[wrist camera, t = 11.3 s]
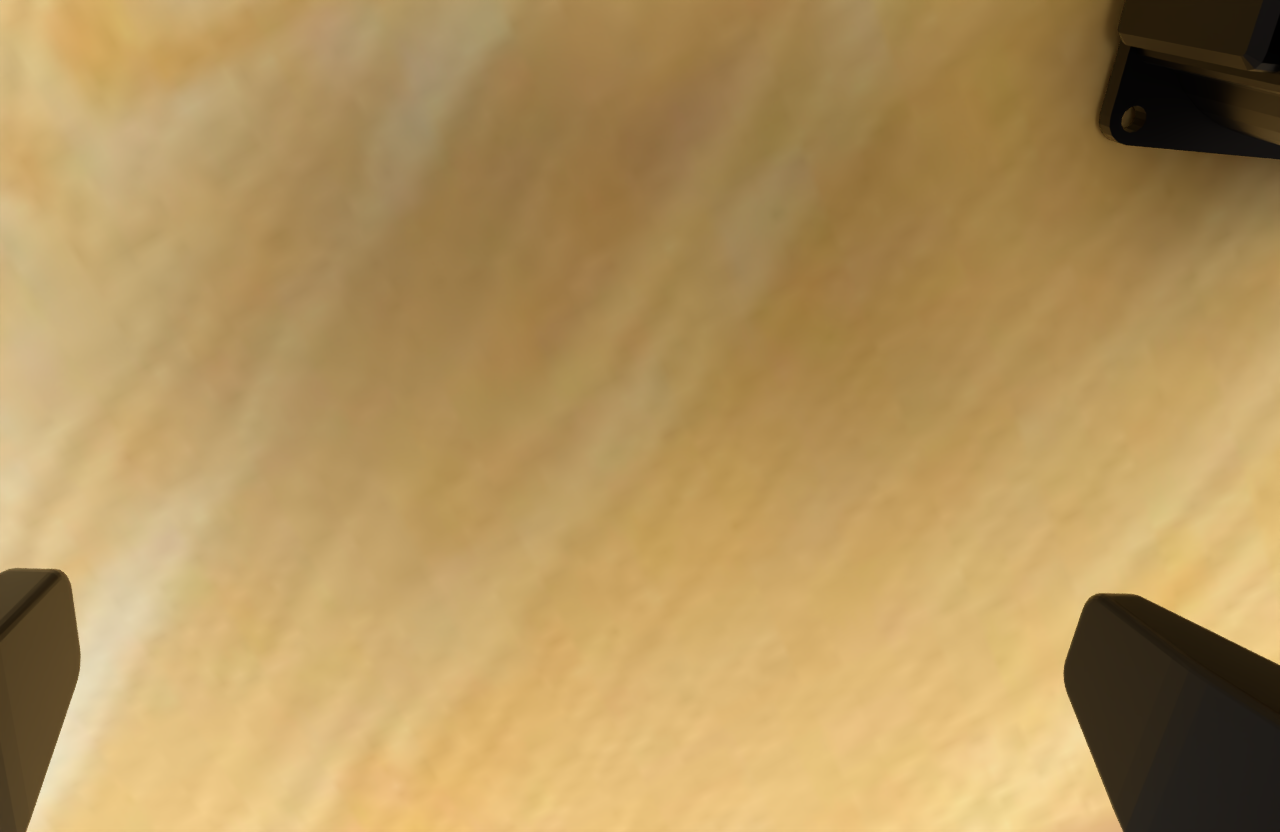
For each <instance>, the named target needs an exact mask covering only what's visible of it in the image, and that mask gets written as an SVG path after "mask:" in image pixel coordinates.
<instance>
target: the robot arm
mask: <svg viewBox="0 0 1280 832" xmlns="http://www.w3.org/2000/svg"><path fill="white" fill-rule="evenodd" d="M1118 32H1119V35H1120V37H1121V40H1120V44H1119V48H1118V51H1117V55H1116V58H1115V62H1114V65H1113V69H1112V73H1111V76H1110V80H1109V83H1108V87H1107V91H1106V94H1105V98H1104V101H1103V105H1102V108H1101V112H1100V119H1099V125H1100V128H1101V131H1102V133H1103V134H1104V135H1105V136H1106V137H1107V138H1108V139H1111V140H1113V141H1116V142H1119V143H1122V144H1125V145H1131V146H1142V147H1153V148H1164V149H1174V150H1185V151H1196V152H1207V153H1217V154H1228V155H1239V156H1250V157H1260V158H1271V159H1280V0H1125V4H1124V8H1123V11H1122V15H1121V18H1120V22H1119V26H1118ZM1131 107H1134V109H1135V118H1134V120H1133V122H1132V123H1131V124H1130V125H1129V126H1128V127H1126V128H1123V127H1122V125H1121V122H1122V117H1123V115H1124V113H1125V111H1127V110H1128V109H1129V108H1131ZM80 655H81V654H80V645H79V638H78V631H77V623H76V616H75V609H74V602H73V594H72V588H71V584H70V581H69V579H68V577H67V575H66V574H65V573H64V572H62V571H61V570H57V569H28V568H14V569H8V570H6V571H4V572H2V573H0V832H26V831H27V828H28V825H29V822H30V820H31V817H32V814H33V811H34V808H35V805H36V802H37V799H38V796H39V793H40V790H41V787H42V784H43V781H44V778H45V775H46V772H47V769H48V766H49V763H50V760H51V758H52V755H53V752H54V749H55V746H56V743H57V740H58V737H59V734H60V731H61V728H62V725H63V722H64V719H65V716H66V713H67V710H68V707H69V704H70V701H71V698H72V695H73V693H74V690H75V687H76V683H77V680H78V676H79V671H80ZM1064 683H1065V688H1066V691H1067V694H1068V697H1069V699H1070V702H1071V704H1072V707H1073V709H1074V712H1075V714H1076V717H1077V719H1078V722H1079V724H1080V727H1081V729H1082V732H1083V734H1084V737H1085V739H1086V742H1087V744H1088V747H1089V749H1090V752H1091V754H1092V757H1093V759H1094V762H1095V764H1096V767H1097V769H1098V772H1099V774H1100V777H1101V779H1102V782H1103V784H1104V787H1105V789H1106V792H1107V794H1108V797H1109V799H1110V802H1111V804H1112V807H1113V809H1114V812H1115V814H1116V816H1117V819H1118V821H1119V823H1120V825H1121V828H1122V830H1123V832H1280V665H1278V664H1276V663H1274V662H1272V661H1270V660H1268V659H1266V658H1264V657H1262V656H1260V655H1258V654H1256V653H1254V652H1252V651H1250V650H1248V649H1246V648H1244V647H1242V646H1240V645H1238V644H1236V643H1234V642H1232V641H1230V640H1228V639H1226V638H1224V637H1222V636H1220V635H1218V634H1216V633H1214V632H1212V631H1210V630H1208V629H1206V628H1203V627H1201V626H1199V625H1197V624H1195V623H1193V622H1191V621H1189V620H1187V619H1185V618H1183V617H1181V616H1179V615H1177V614H1175V613H1173V612H1171V611H1169V610H1167V609H1165V608H1163V607H1161V606H1159V605H1157V604H1155V603H1153V602H1151V601H1149V600H1147V599H1145V598H1143V597H1141V596H1138V595H1134V594H1112V593H1099V594H1095V595H1094V596H1092V597H1090V598H1089V599H1088V600H1087V602H1086V603H1085V605H1084V607H1083V610H1082V613H1081V616H1080V619H1079V622H1078V625H1077V628H1076V631H1075V634H1074V637H1073V639H1072V642H1071V645H1070V648H1069V651H1068V654H1067V657H1066V660H1065V665H1064Z"/></svg>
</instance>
